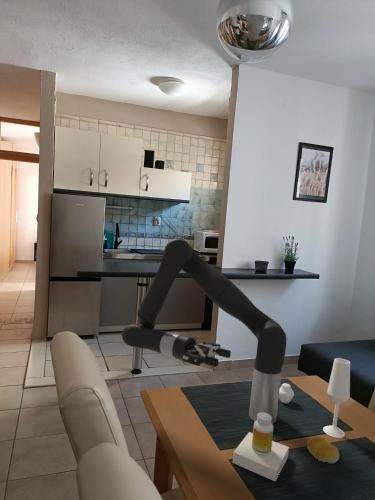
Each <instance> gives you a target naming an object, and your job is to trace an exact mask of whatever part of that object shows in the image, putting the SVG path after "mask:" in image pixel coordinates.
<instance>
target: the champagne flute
mask: <svg viewBox="0 0 375 500" xmlns="http://www.w3.org/2000/svg"><path fill="white" fill-rule="evenodd" d="M331 368H332V369H331V374H330V378H329V382H328V386H327V395H328V397H329V398H330V399H331V400H332V401H333V403H334V412H333V417H332V418H333V420H332V425H326V426H323V428H322V430H323V432H324V433H325V434H327V435H328V436H330V437H333V438H337V439H340V438H341V439H342V438H344V437H345V436H346V433H345V432H344V431H343V430H342V429H340V428H339V427H338V426H337V425H338V416H339V408H340V404H341V405H342V404H343V403H345V402H347V401H348V400H349V398H351V397H350V396H351V391H350V390H351V361H350V360H348V359H345V358H341V357H336V358H334V360H333V365H332V367H331Z"/></svg>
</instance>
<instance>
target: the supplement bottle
mask: <svg viewBox="0 0 375 500" xmlns="http://www.w3.org/2000/svg"><path fill="white" fill-rule="evenodd" d="M271 422H272V417H271V416H270V415H269V414H267V413H258V415H257V420H256V421H254V423H253V430H252V433H253V438H252V449H253V450H254V451H255V452H256V453H258V454H260V455H268V454H270V452H271V448H272V441H273V436H274V424H271Z"/></svg>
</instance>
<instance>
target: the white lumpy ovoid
mask: <svg viewBox="0 0 375 500" xmlns="http://www.w3.org/2000/svg"><path fill="white" fill-rule="evenodd" d="M294 396H295V392H294V390H293V389H292V386H291V385H290V384H289V383H287V382H285V383H282V384H281V385H280V390H279V400H280V402H281V403H282V404H289V403H290V402H291V400H292V399H293V397H294Z"/></svg>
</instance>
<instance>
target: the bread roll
mask: <svg viewBox="0 0 375 500" xmlns="http://www.w3.org/2000/svg"><path fill="white" fill-rule="evenodd" d="M306 448H307V450H309V451H308V452H309V454H311V455H312V456H313V457H314V458H315V459H316V460H317V459H318V460H317V461H319V462H321V461H322V462H321V463H325V462H328V463H327V464H335V463H336V462H338V460H339V459H340V452H339V449H338V448H337V447H336V446H335V445H333V444H332V443H331V442H330V441H329V440H328V439H326V438H325V437H323V436H315V437H313V438H310V439H308V441H307V443H306Z"/></svg>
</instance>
